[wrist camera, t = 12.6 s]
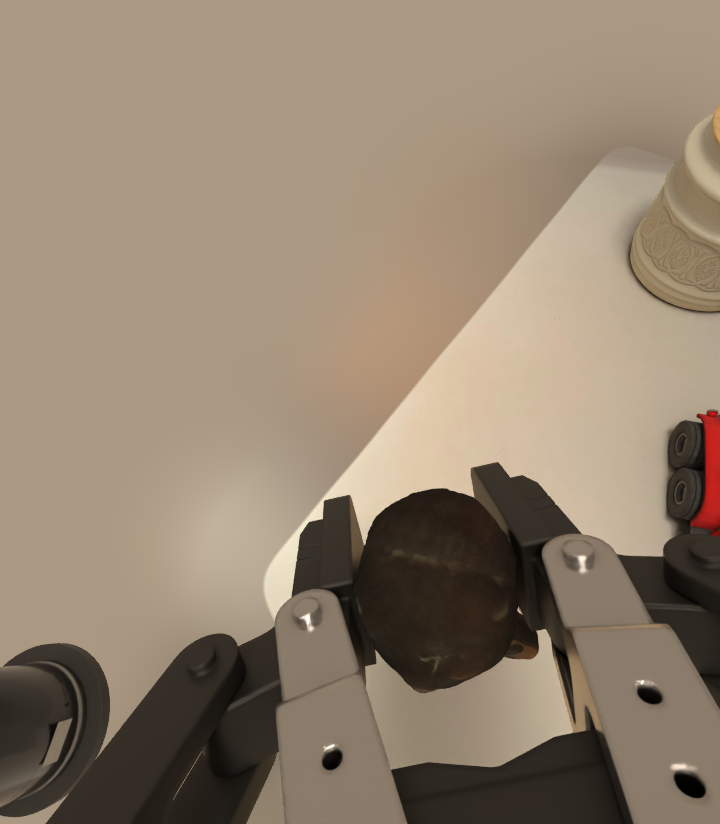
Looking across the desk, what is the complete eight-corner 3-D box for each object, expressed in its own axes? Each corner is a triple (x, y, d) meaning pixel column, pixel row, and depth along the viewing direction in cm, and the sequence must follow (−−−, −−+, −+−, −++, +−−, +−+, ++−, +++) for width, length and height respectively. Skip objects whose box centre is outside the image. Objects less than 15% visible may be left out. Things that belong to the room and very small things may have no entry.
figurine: (343, 628, 24) (184, 638, 8) (374, 537, 26) (294, 398, 10) (482, 685, 23) (628, 845, 6) (505, 583, 24) (666, 504, 8)
